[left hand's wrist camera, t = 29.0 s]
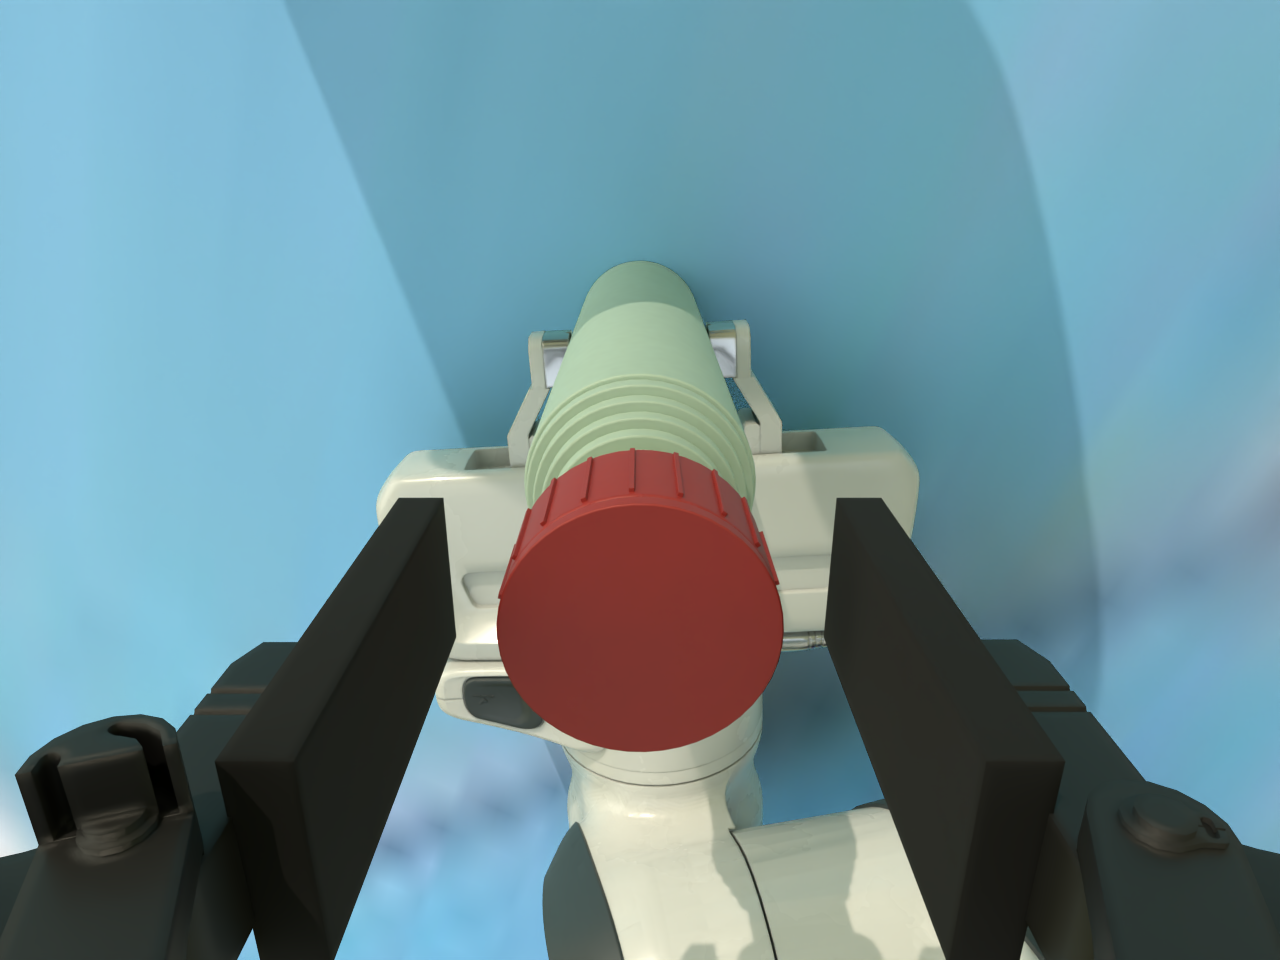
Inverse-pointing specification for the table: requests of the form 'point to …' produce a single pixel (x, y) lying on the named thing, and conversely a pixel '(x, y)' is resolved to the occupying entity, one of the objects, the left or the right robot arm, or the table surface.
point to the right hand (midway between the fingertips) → (637, 327)
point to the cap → (640, 603)
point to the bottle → (639, 384)
